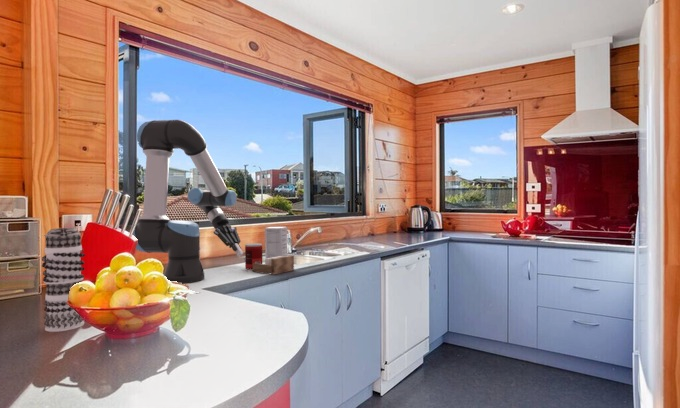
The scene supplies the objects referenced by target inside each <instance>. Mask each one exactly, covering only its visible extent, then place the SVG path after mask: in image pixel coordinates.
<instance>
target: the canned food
mask: <svg viewBox="0 0 680 408" xmlns="http://www.w3.org/2000/svg"><path fill="white" fill-rule="evenodd" d="M244 248H245V249H244V253H245V254H244V259H245V261H244V262H245V263H244V264H245V269H246V270H253V263H258V264H263V244H262V243H258V242H257V243H246V244H245V245H244Z"/></svg>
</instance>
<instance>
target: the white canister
mask: <svg viewBox="0 0 680 408" xmlns="http://www.w3.org/2000/svg"><path fill="white" fill-rule="evenodd" d="M264 243H265V244H264V247H265V248H264V249H265V253H264V254H265V256H264V257H265V259H266V258H272V257H278V256H283V257H285V256H288V226H269V227H265V228H264Z"/></svg>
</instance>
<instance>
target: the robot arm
mask: <svg viewBox="0 0 680 408" xmlns="http://www.w3.org/2000/svg"><path fill="white" fill-rule="evenodd" d="M136 141H137V142H138V145H139V147H140V148H141V150H142V153H143V154H144V156H146V158H145V159H146V162H145V177H144V193H143V194H144V195H143V209H142V214H141V216H140V217H139V218H138V220H137V221H138V223H136V224H137V225H136V224H135V225H136V227H135V230H134V232H133V235H134V236H135V237H136V238H137V239H138V243H137V246H136V248H135V250H137V251H139V252H142V253H148V254H150V253H156V254H157V253H160V254H168V260H167V263H166V268H165V270H164V274H163V276H164V275H165V276H166V277H167V279H168V280H170V281H177V282H182V283H181V284H187V283H195V282H199V281H202V280H204V279H205V271H204V268H203V265H202V262H201V257H200V255H201V254H200V249H201V248H200V246H201V245H200V243H201V242H200V240H201V238H200V236H201V233H200V225H199V224H198V223H196V222H193V221H191V220H190V221H189V220H179V219H177V220H175V219H174V220H172V219H170V218H169V217H168V216H167V206H168V205H167V204H168V190H169V188H168V187H169V169H170V165H169V164H170V158H171V157H173V155H174V152H175V151H174V150H175V149H180V150H182V151H183V152H184V154H185V155H186V156H188V157H190V159H191V161H192V163H193V164H194V166H195V168H196V170H197V171H198V173H199V175H200V176H201V178H202V180H203V182H204V184H205V186H206V187H207V189H208V190H202V188H199V187H193V188H191V189H190V190H188V192H187V200H188V201H189V202H190V203H191V204H192V205H194V206H195V207H197V208H199V209H201V210H202V212H204V214H205V215H206V216H207V219H208V220H209V222H210V223H211V225H212V226H213V229H214V231H213V235H215V236H217V237H218V239H220V240H221V242H222V243H223V244H224V245H225V246H226V247H228V248H230V249H232V250H233V251H234V253H235V254H236V255H237V258H242V257H243V255H245V254H244V253H245V252H243V250H242V247H241V246H240V243H241V242H242V241H241V239H240V236H239V233H238V231H237V230H238V229H237V227H236V226H235V227H232V225H231V224H230V223H229V219H228V217H226V214H225V213H224V212H223V210H222V209H221V207H232V206H235V204H236V203H237V197H238V196H237V193H236V191H234V190H231V189H228V187H227V186H226V184H225V182H224V180H223V178H222V175H221V174H220V172H219V170H218V167H216V164H215V163H214V161H213V158H212V157H211V155H210V153H209V151H208V149H207V148H208V144H207V141H206V140H205V138H204V137H203V135H202V133H200V131H198V130H197V128H196V127H194V126H193V125H192V124H190V123H189V122H187V121H184V120H181V119H167V120H166V119H163V120H160V119H159V120H157V119H155V120H151V121H144V122H143V123H142V124H140V126H139V127H138V129H137V133H136Z"/></svg>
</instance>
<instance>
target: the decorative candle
mask: <svg viewBox="0 0 680 408" xmlns="http://www.w3.org/2000/svg"><path fill="white" fill-rule="evenodd" d="M43 237H44V238H45V246H44V254H45V255H44V256H42V257H41V260H42V261H41V262H42V264H41V267H42V268H43V269H45V270H43V271H42V276H44V277H43V279H42V281H43V284H45V285H46V287H45V289H46V293H45V294H44V295H45V301H44V302H43V305H44V306H45V307H44V309H43V311H44V312H46V313H45V314H44V316H43V318H44V319H45V320H44V323H43V324H44V326H45V328H44V331H46V332H50V333H55V332H57V333H58V332H66V331H71V330H75V329H78V328H80V327H83V326H84V325H85V320H83V319H82V318H81V317H80V315H79V314H78V313H77V312H76V311H75V310H74V309H73V308H71V307H70V306H69V305H68V304H67V301H68V295H69V291H70V288H71V287H72V286H73V285H74V284H76V283H79V282H83V280H84V278H85V275H84V274H82V272H83V271H84V270H85V267H84V266H83V265H85V261H84V260H81V258H84V257H85V256H86V254H85V253H83V251H85V249H84V248H83V246H82V233H80V232H79V230H78V229H77V228H75V227H60V228H58V227H57V228H51V229H49V230H48V231H47V233H46V234H44V235H43Z"/></svg>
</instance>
